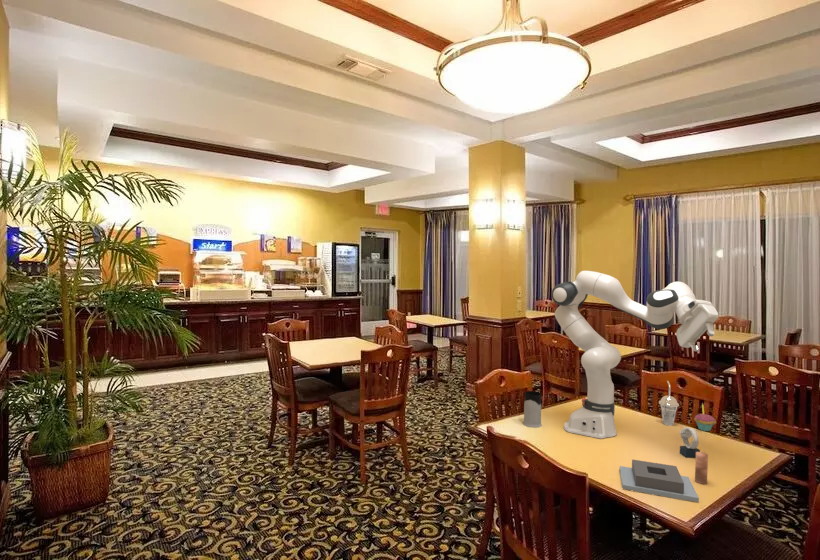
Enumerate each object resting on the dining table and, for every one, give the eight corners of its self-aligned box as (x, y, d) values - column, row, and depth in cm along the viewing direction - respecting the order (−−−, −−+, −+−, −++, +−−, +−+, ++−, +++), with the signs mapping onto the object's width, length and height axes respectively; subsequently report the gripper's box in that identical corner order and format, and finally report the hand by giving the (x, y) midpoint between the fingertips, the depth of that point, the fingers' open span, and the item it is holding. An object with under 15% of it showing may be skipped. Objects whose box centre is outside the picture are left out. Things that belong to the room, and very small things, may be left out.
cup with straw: (655, 423, 219) (656, 382, 218) (662, 419, 225) (663, 379, 225) (674, 428, 213) (676, 386, 212) (681, 424, 219) (682, 383, 218)
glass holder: (520, 425, 214) (521, 393, 213) (529, 417, 226) (530, 387, 225) (538, 429, 209) (539, 396, 209) (547, 420, 221) (547, 390, 221)
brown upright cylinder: (696, 483, 158) (697, 454, 158) (693, 478, 161) (694, 451, 161) (708, 485, 157) (709, 456, 156) (705, 480, 160) (706, 452, 160)
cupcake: (689, 426, 216) (690, 401, 216) (706, 426, 217) (707, 401, 217) (702, 432, 208) (703, 407, 207) (720, 432, 208) (721, 406, 208)
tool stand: (622, 489, 153) (622, 474, 152) (619, 469, 167) (619, 456, 167) (698, 502, 144) (699, 487, 144) (688, 481, 159) (688, 467, 159)
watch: (690, 451, 186) (691, 425, 185) (702, 460, 178) (703, 432, 177) (676, 451, 186) (677, 424, 186) (688, 459, 178) (689, 431, 178)
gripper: (668, 329, 187) (680, 357, 177) (697, 296, 173) (712, 324, 163) (683, 332, 187) (695, 359, 178) (713, 299, 173) (729, 327, 163)
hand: (704, 342), depth 170 cm, fingers open, 8 cm apart
